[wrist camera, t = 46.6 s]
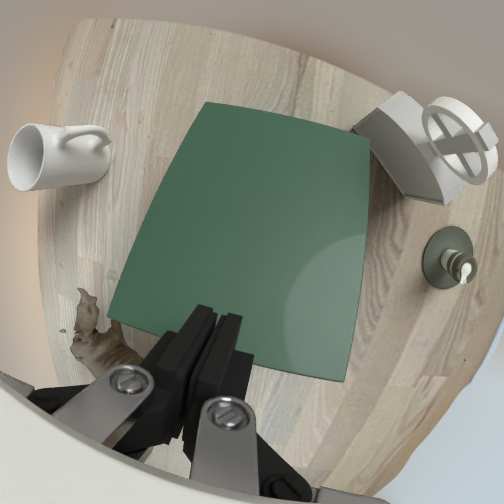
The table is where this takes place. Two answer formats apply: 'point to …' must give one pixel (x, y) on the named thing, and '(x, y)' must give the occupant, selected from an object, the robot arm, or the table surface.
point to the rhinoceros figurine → (99, 340)
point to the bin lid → (257, 238)
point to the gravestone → (430, 146)
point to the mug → (57, 156)
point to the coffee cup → (449, 258)
